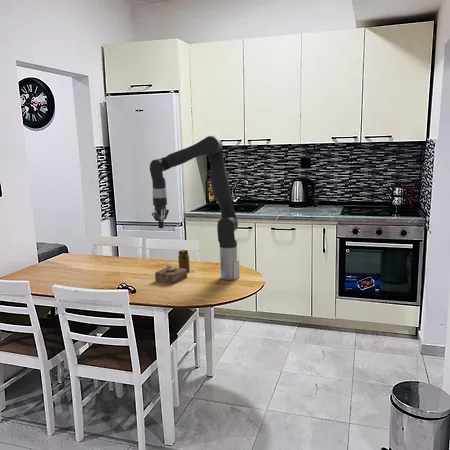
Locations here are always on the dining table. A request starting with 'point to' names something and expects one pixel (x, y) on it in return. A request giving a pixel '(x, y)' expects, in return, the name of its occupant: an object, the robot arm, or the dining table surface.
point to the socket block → (171, 275)
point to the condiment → (184, 260)
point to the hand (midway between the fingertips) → (161, 228)
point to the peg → (170, 268)
